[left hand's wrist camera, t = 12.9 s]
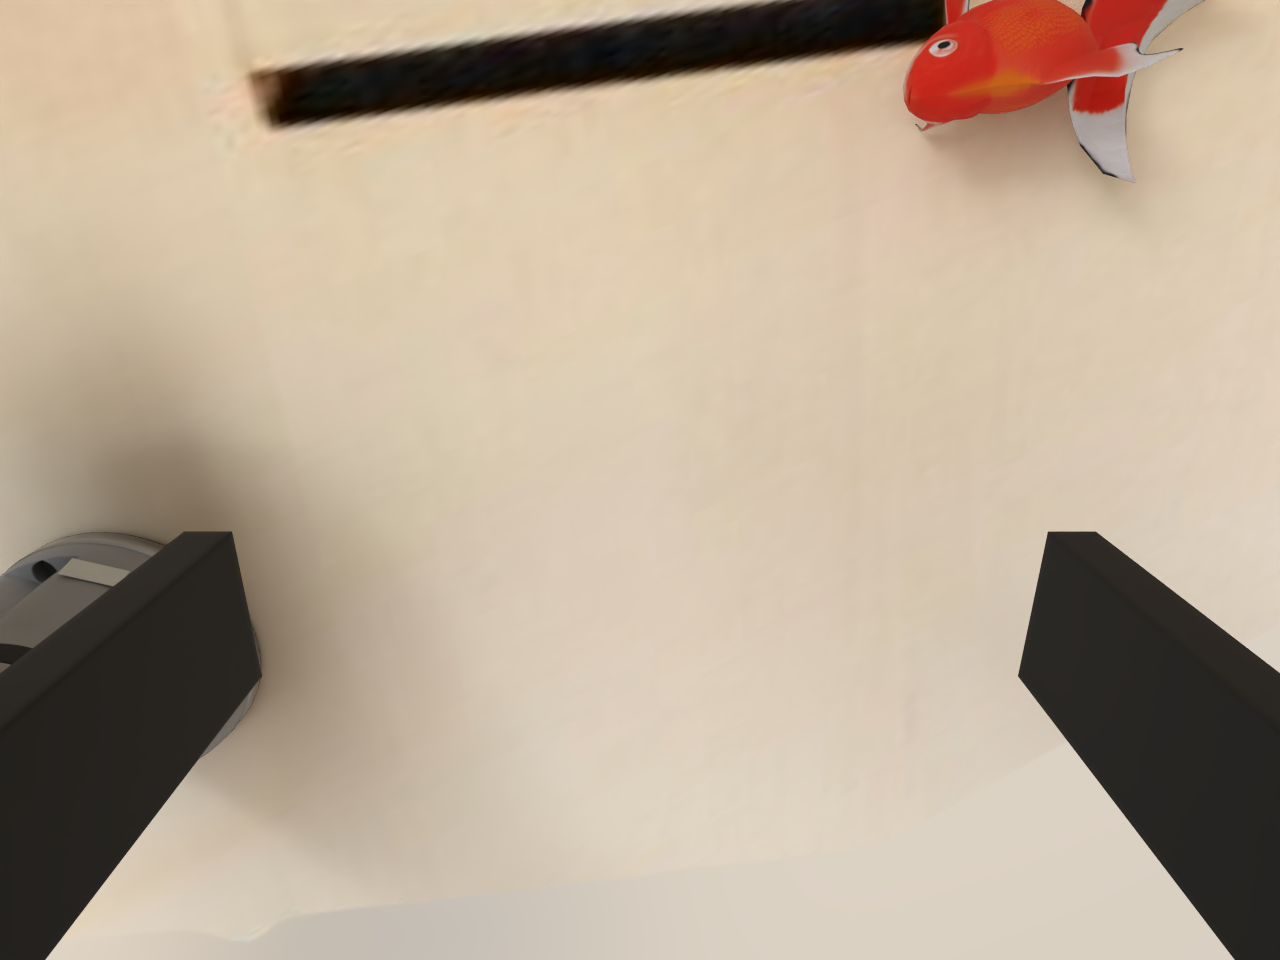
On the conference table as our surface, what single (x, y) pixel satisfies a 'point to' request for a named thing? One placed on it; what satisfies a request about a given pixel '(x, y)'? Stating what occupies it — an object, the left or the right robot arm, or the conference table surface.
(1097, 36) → the fish
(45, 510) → the conference table surface
